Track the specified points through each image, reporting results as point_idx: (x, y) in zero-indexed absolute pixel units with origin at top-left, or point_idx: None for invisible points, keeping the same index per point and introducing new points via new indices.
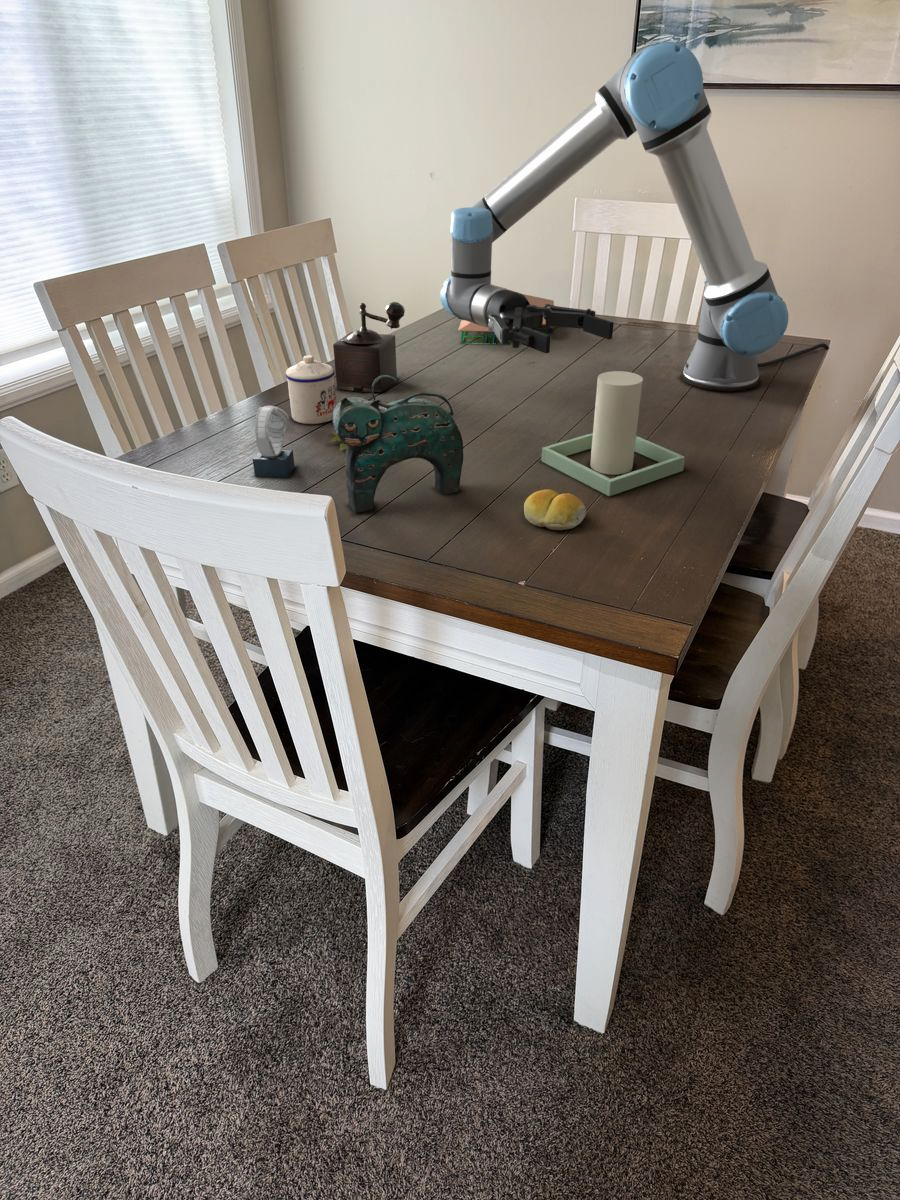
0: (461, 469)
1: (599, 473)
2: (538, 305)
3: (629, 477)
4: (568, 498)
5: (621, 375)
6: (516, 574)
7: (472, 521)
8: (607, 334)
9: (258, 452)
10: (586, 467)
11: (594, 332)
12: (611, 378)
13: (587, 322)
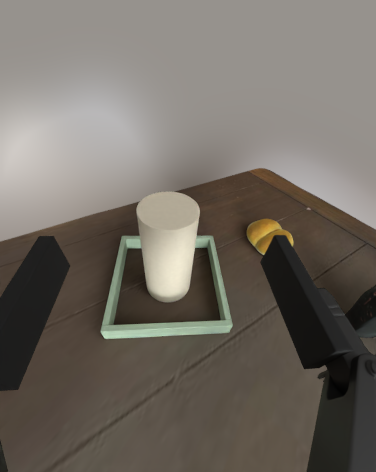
0: (355, 303)
1: (211, 248)
2: None
3: None
4: (266, 221)
5: (159, 213)
6: (310, 214)
7: (331, 266)
8: (64, 263)
9: None
10: (214, 262)
11: (44, 316)
12: (180, 212)
13: (9, 351)
